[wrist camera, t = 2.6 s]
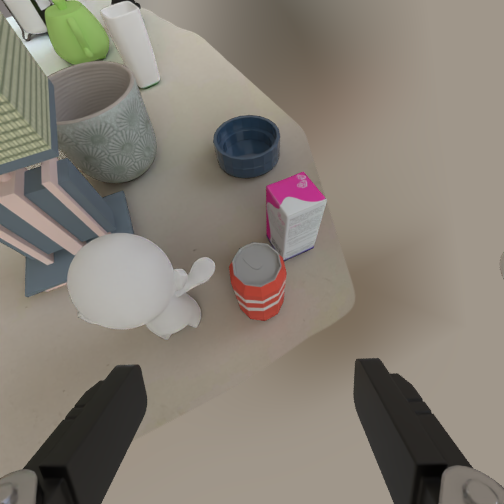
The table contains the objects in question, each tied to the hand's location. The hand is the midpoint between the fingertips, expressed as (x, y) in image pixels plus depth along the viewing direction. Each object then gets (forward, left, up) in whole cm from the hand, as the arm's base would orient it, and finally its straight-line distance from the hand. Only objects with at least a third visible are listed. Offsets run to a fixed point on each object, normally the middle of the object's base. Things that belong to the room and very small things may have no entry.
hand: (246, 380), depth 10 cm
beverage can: (+3, -11, -26) cm, 28 cm away
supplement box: (+1, -22, -26) cm, 34 cm away
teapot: (+73, -72, -26) cm, 106 cm away
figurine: (+14, -5, -26) cm, 30 cm away
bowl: (+13, -39, -26) cm, 49 cm away
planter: (+37, -32, -26) cm, 56 cm away
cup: (+47, -61, -26) cm, 81 cm away
